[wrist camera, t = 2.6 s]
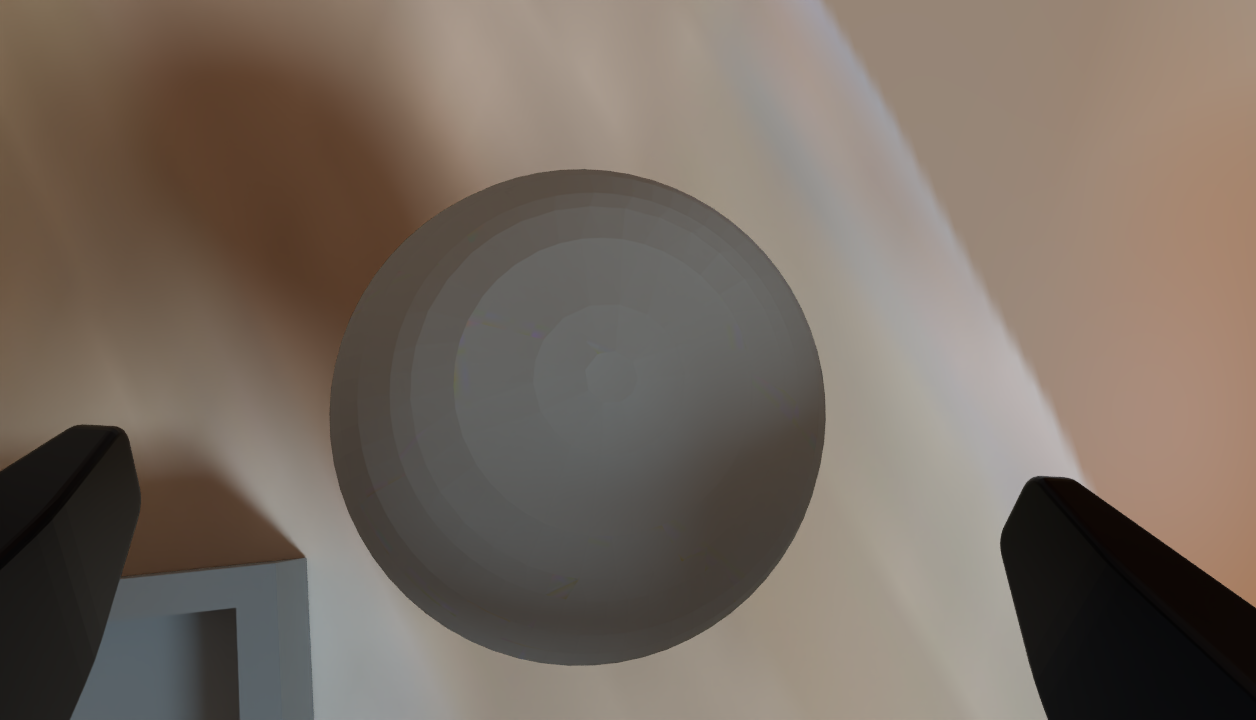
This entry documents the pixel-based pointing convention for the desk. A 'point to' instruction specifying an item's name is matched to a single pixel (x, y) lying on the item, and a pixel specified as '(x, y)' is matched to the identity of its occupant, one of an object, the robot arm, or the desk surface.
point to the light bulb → (578, 417)
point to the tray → (205, 647)
